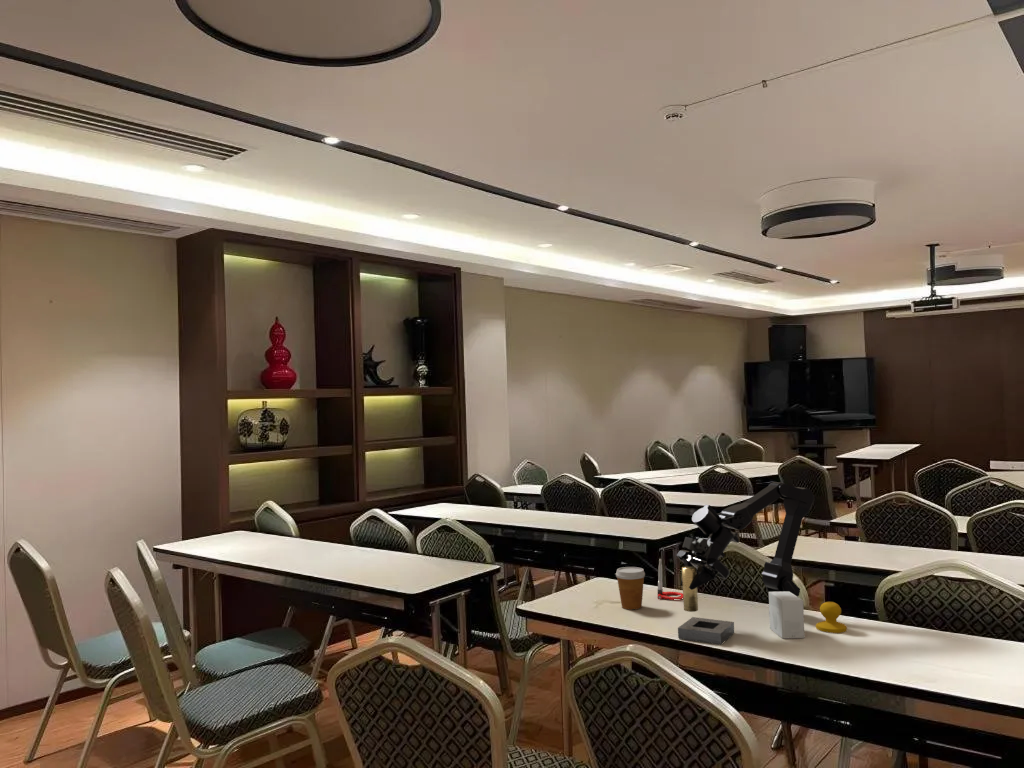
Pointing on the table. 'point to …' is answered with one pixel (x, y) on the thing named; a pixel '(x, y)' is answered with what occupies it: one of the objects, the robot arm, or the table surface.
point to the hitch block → (706, 630)
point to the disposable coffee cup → (630, 586)
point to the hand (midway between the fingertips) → (685, 587)
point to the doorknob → (831, 619)
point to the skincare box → (786, 614)
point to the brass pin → (688, 594)
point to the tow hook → (660, 591)
